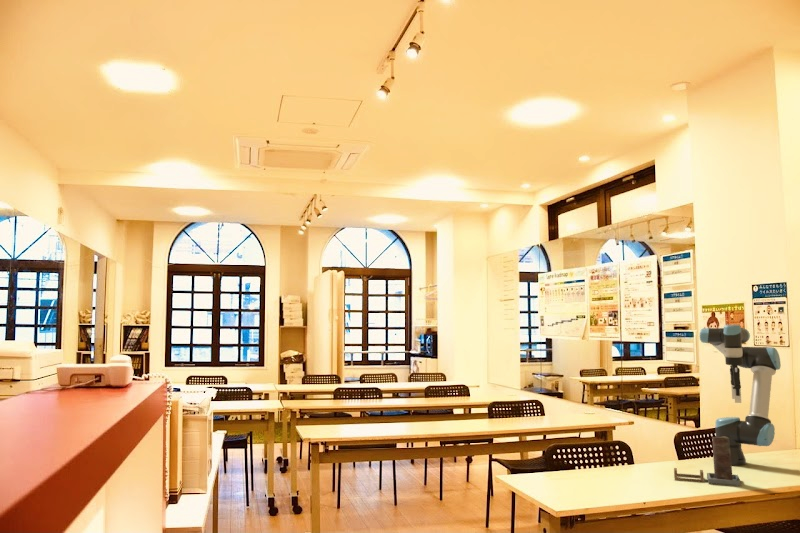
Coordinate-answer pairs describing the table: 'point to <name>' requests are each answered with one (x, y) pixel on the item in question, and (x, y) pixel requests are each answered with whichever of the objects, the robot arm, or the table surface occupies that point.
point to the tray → (715, 481)
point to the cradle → (689, 476)
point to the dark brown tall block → (722, 458)
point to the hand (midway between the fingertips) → (736, 400)
